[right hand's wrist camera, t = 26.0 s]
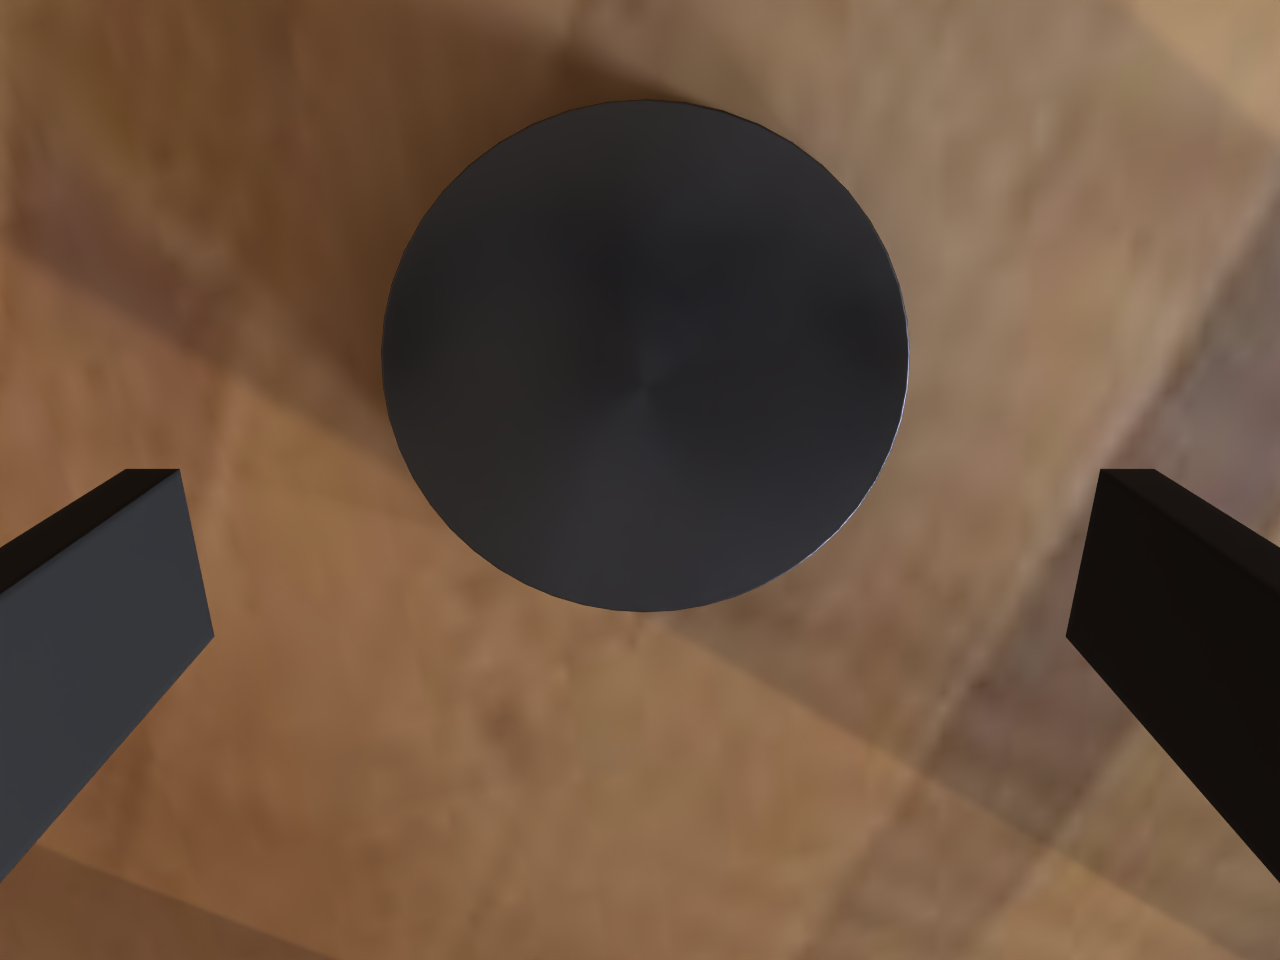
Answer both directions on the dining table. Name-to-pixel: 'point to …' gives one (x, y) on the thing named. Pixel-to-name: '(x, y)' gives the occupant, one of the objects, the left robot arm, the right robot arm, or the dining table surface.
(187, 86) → the dining table surface
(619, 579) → the lid
